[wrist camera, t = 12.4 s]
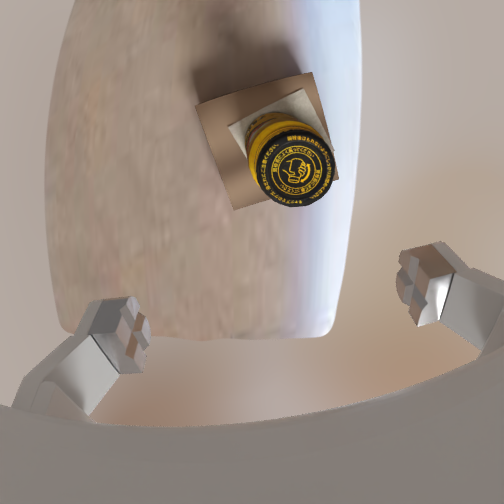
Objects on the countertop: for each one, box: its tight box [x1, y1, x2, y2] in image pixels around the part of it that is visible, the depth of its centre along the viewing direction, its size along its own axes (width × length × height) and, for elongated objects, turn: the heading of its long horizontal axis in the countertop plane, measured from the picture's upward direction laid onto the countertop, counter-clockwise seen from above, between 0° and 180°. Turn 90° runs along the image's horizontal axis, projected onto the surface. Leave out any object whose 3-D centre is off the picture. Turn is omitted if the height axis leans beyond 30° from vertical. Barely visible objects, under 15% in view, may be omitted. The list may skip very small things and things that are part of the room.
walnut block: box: [195, 72, 339, 210], centre depth 31 cm, size 12×12×5 cm
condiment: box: [228, 89, 335, 207], centre depth 23 cm, size 7×8×12 cm
